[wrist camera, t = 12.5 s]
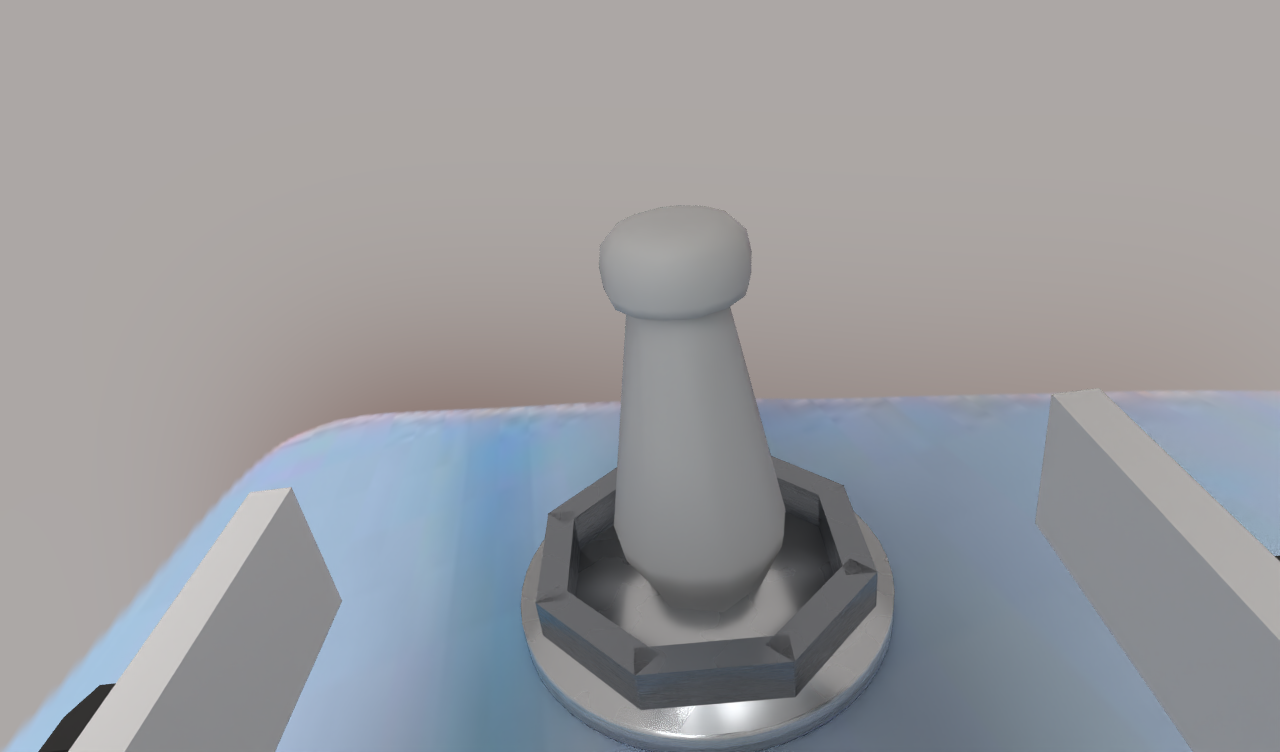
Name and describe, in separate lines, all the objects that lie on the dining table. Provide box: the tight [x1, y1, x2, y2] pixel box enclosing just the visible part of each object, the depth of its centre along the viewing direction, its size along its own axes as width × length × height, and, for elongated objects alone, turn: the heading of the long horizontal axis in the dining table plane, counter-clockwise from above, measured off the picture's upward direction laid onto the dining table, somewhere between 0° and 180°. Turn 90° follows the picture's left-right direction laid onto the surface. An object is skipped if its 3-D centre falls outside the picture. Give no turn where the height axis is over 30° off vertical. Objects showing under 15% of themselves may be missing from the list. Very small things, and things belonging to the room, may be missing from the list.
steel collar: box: [521, 456, 894, 752], centre depth 28 cm, size 13×13×2 cm
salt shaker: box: [599, 205, 785, 612], centre depth 25 cm, size 6×6×13 cm
